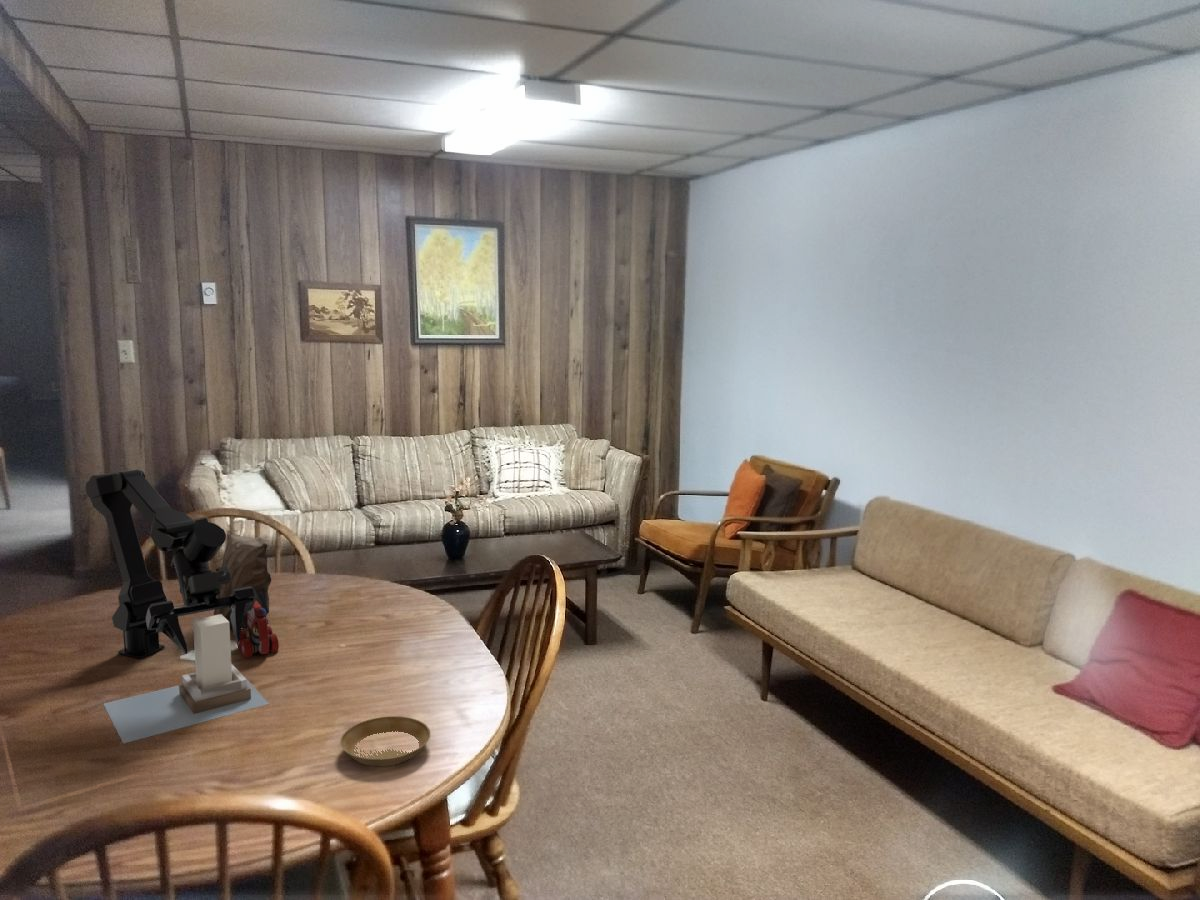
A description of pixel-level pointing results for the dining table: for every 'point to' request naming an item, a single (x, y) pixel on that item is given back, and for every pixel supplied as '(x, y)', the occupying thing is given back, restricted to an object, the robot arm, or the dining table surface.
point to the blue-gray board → (166, 712)
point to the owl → (245, 571)
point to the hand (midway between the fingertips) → (213, 647)
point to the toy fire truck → (257, 634)
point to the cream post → (212, 651)
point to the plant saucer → (384, 725)
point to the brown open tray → (214, 692)
